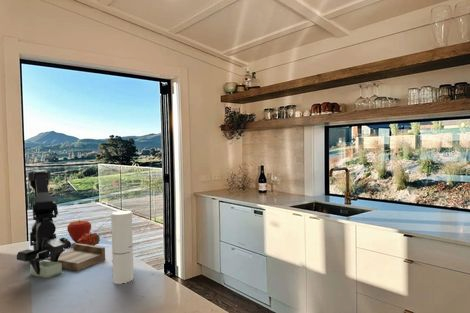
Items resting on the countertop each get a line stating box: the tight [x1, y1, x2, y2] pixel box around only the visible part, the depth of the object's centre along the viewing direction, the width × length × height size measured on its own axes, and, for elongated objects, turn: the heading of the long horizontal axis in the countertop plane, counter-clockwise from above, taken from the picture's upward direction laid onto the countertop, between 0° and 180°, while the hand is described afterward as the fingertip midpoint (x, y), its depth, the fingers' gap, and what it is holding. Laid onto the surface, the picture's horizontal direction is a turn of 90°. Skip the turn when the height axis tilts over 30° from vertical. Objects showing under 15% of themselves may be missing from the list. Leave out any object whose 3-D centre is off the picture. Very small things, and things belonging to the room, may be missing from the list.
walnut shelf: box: [47, 242, 106, 272], centre depth 138 cm, size 18×14×6 cm
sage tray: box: [29, 259, 63, 280], centre depth 125 cm, size 10×6×4 cm, turn 65°
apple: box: [66, 219, 92, 243], centre depth 168 cm, size 11×11×12 cm
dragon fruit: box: [77, 231, 101, 246], centre depth 157 cm, size 8×8×12 cm
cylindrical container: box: [110, 210, 134, 285], centre depth 117 cm, size 7×7×25 cm
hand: (46, 271), depth 125 cm, fingers closed on sage tray, 6 cm apart
